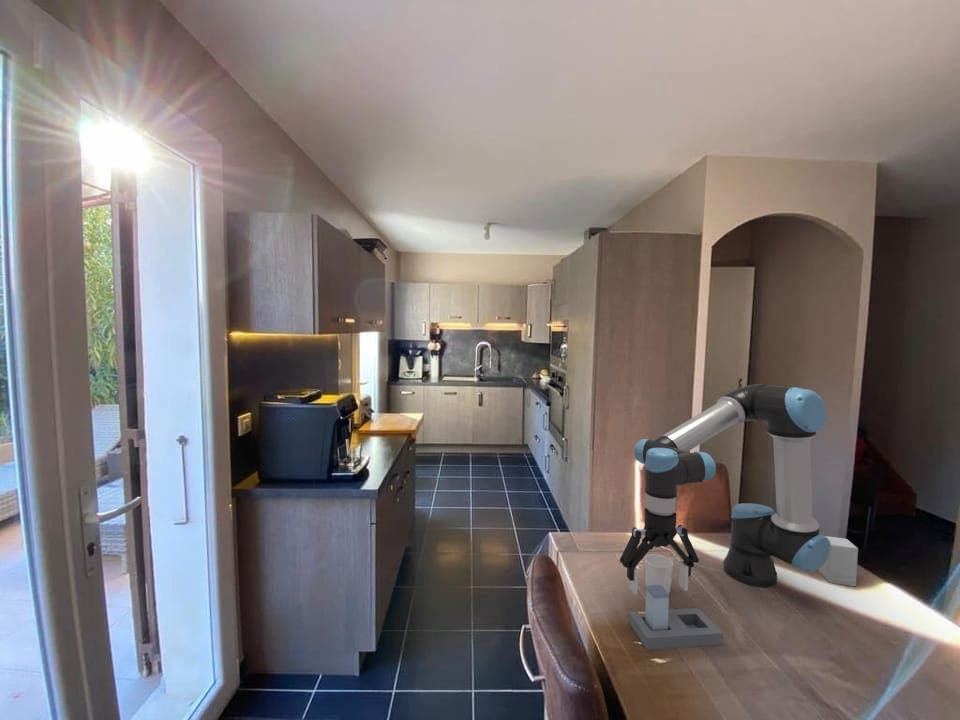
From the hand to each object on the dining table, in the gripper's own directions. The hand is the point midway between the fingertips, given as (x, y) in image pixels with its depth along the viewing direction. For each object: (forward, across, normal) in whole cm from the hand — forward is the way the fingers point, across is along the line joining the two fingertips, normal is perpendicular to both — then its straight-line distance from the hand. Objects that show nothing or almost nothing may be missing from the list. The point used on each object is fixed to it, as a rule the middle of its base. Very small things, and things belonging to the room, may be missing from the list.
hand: (658, 589), depth 110 cm
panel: (+13, -4, 0) cm, 14 cm away
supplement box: (+15, -73, -21) cm, 78 cm away
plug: (+12, +1, 0) cm, 12 cm away
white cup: (+13, -10, -19) cm, 25 cm away
